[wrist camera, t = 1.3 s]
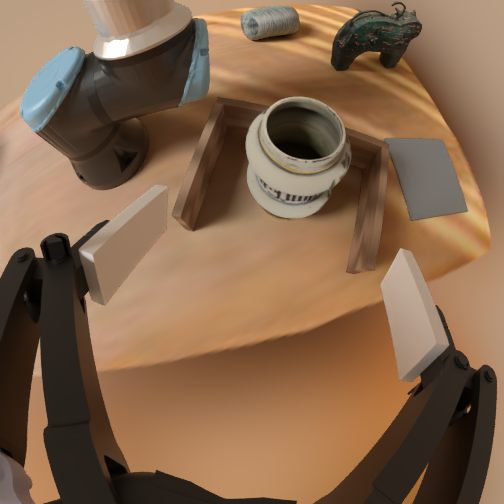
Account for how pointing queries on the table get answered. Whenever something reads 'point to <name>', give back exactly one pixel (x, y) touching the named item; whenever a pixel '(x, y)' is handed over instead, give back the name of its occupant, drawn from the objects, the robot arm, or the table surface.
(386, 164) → the walnut u-shaped frame
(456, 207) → the rubber mat
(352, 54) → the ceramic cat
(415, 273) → the robot arm
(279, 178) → the apothecary jar
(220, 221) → the table surface
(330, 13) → the table surface
